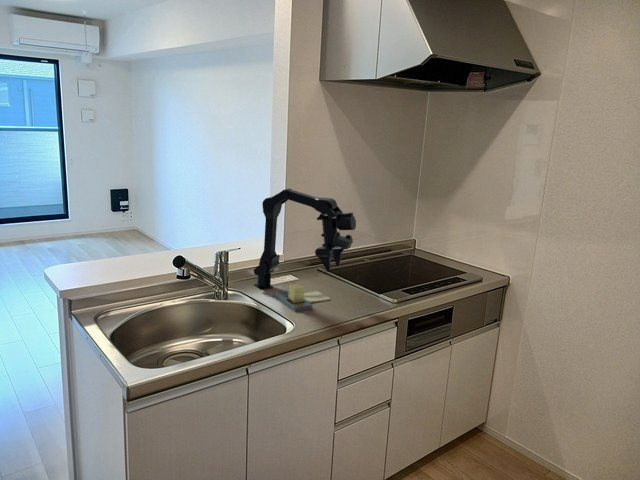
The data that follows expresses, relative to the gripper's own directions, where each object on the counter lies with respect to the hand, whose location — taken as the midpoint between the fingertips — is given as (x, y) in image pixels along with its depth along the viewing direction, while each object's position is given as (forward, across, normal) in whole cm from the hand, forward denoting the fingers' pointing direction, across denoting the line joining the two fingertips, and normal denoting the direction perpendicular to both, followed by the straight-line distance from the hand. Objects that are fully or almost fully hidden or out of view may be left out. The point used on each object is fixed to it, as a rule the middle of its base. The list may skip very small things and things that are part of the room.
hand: (333, 268), depth 198 cm
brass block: (+12, -11, +13) cm, 21 cm away
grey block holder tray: (+12, -10, +15) cm, 22 cm away
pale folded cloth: (+13, 0, +10) cm, 16 cm away
